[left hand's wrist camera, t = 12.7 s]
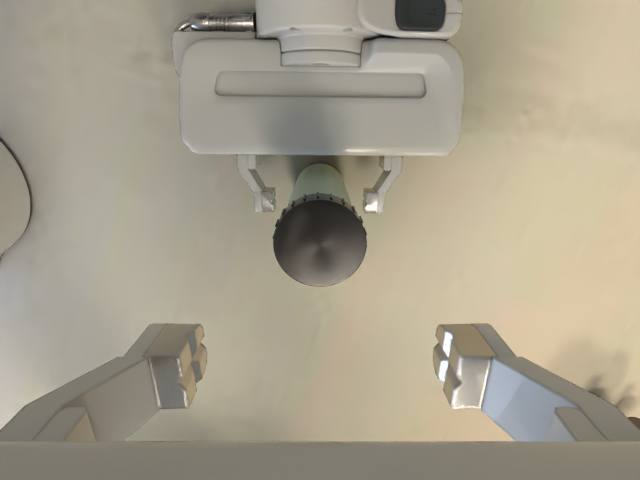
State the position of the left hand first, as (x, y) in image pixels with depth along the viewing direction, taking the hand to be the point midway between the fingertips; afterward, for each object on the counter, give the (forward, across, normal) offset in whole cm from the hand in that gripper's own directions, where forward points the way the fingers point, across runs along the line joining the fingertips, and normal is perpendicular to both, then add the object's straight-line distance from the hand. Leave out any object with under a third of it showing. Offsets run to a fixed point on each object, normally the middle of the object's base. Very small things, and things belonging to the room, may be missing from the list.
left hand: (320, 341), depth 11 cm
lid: (+8, 0, 0) cm, 8 cm away
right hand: (+18, 0, -1) cm, 18 cm away
